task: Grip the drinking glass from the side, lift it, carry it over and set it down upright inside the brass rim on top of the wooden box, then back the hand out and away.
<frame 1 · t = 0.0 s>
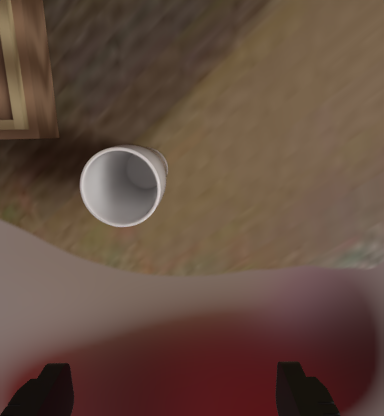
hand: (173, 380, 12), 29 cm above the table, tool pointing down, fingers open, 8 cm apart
drinking glass: (148, 168, 39), on the table
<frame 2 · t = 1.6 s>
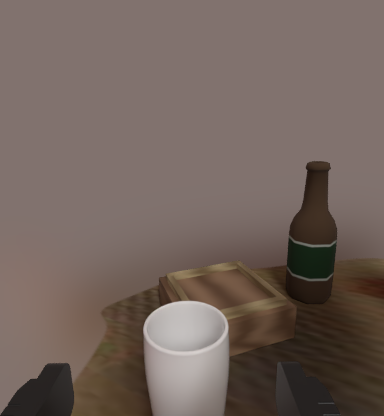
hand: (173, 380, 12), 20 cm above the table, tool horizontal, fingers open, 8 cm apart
beer bottle: (307, 294, 55), on the table
wooden box: (220, 318, 48), on the table
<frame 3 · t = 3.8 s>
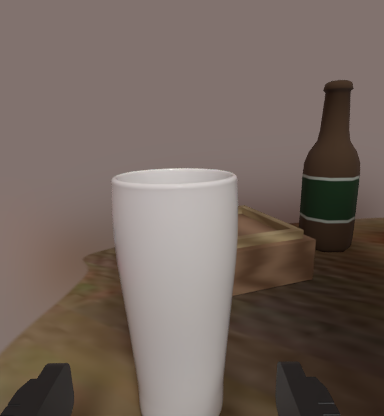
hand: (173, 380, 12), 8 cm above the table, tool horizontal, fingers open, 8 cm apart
beer bottle: (323, 245, 48), on the table
drinking glass: (181, 407, 20), on the table
wooden box: (223, 263, 41), on the table
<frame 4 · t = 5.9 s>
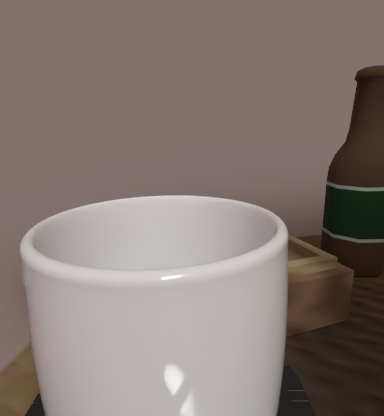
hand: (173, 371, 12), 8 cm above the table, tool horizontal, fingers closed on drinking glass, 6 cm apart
beer bottle: (351, 266, 40), on the table
wooden box: (232, 294, 33), on the table
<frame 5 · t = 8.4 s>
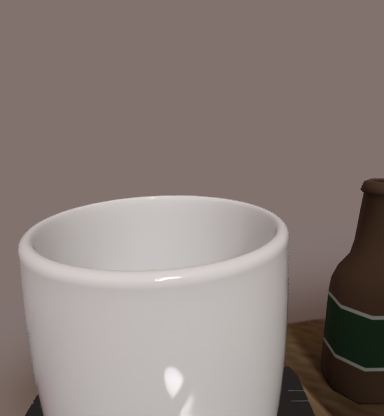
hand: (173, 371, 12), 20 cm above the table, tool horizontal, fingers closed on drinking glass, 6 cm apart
beer bottle: (355, 381, 36), on the table
when the fingers open (14 cm above the table, at t = 11.3 s): drinking glass drops 1 cm, resting on wooden box.
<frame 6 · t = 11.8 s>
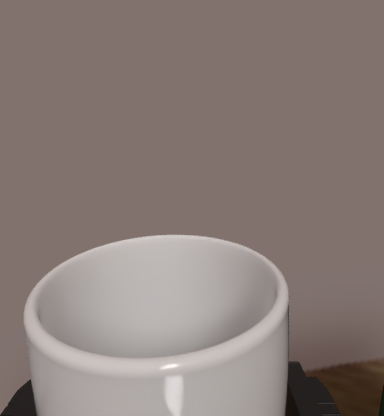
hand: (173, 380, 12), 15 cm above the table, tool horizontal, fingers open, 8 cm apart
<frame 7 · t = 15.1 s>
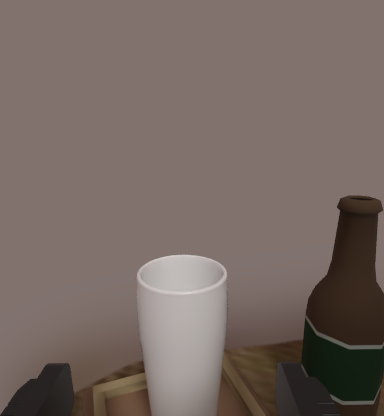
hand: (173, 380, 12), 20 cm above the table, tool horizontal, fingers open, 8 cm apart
beer bottle: (335, 411, 33), on the table
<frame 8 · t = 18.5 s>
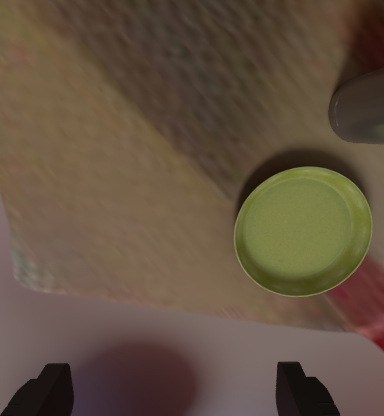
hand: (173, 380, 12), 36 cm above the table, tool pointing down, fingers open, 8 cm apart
saucer: (295, 228, 48), on the table
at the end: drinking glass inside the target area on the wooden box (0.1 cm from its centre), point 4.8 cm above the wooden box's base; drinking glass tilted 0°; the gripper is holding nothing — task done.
